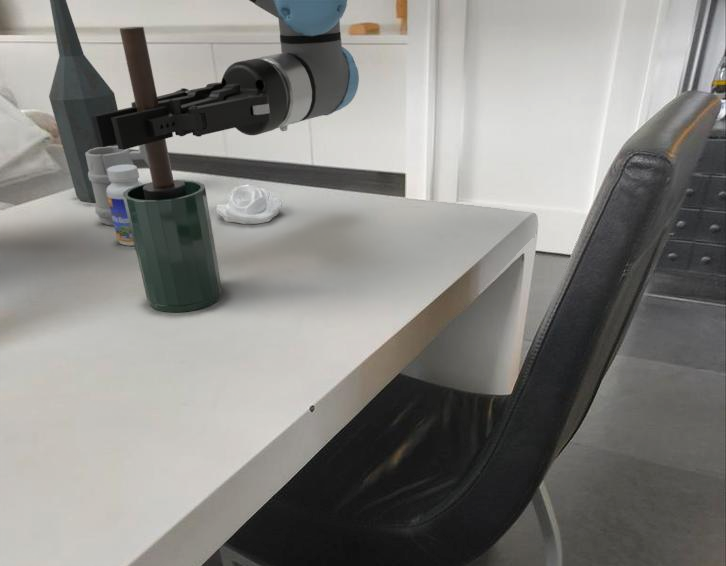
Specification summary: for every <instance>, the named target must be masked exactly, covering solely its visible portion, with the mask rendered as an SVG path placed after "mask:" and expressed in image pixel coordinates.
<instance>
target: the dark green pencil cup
mask: <svg viewBox="0 0 726 566" xmlns="http://www.w3.org/2000/svg"><path fill="white" fill-rule="evenodd" d="M178 180H179V181H183V182H184V183H185V187H186V193H187V196H183V197H179V198H173V199H165V200H145V196H144V191H143V186H144V185H146V184H149V183H152V181H151V182H146V183H143V184H141V185H138V186H134V187H132V188H130V189H127V190H126V191H125V192H124V193H123V199H124V203H125V208H126V212H127V216H128V220H129V225H130V229H131V233H132V237H133V241H134V246H133V247H134V249H135V254H136V259H137V262H138V263H137V264H138V266H139V267H138V268H139V271H140V275H141V279H142V284H143V288H144V291H145V297H146V298H147V303H148V305H149V306H150V307H151V308H152V309H154V310H156V311H161V312H165V313H185V312H193V311H197V310H198V311H199V310H201V309H205V308H207V307H210V306H213V305H214V304H215V303H217V302H218V301H219V300H221V298H222V297H223V287H222V281H221V275H220V268H219V263H218V257H217V250H216V244H215V239H214V233H213V228H212V220H211V214H210V208H209V203H208V197H207V191H206V186H205V184H203V183H202V182H200V181H196V180H190V179H188V180H187V179H178Z"/></svg>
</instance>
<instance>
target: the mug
mask: <svg viewBox="0 0 726 566" xmlns="http://www.w3.org/2000/svg"><path fill="white" fill-rule="evenodd" d="M85 155H86V160H87V164H88V169H89V172H88V177H89V180H90V181H91V182H92V187H93V191H94V196H95V200H96V202H95V205H94V210H95V211H94V212H95V214H96V216H98V218H99V222H100V223H101V224H102V225H107V226H114V222H113V218H112V214H111V210H110V205H109V201H108V197H107V192H106V190H107V187H108V186H109V185H110V184H111V181H110V180H109V178H108V173H107V168H109V167H112V166H116V165H134V161H139V160H141V161H144V162H145V164H146V165H147V166H149V164H148V159H147V155H146V150H145V145H140V146H138V150H131V148H128V149H125V150H122V149H118V146H113V147H112V146H107V147H98V148H94V149H91V150H89V151H88V152H86V153H85Z"/></svg>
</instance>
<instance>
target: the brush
mask: <svg viewBox="0 0 726 566" xmlns="http://www.w3.org/2000/svg"><path fill="white" fill-rule="evenodd" d="M119 33H120V37H121V38H120V39H121V42H122V43H121V44H122V48H123V52H124V56H125V61H126V66H127V71H128V75H129V80H130V84H131V89H132V94H133V98H134V101H135V103H136V108H137V112H139V111H144V110H148V109H153V108H157V107H159V104H158V98H157V97H158V94H157V93H158V92H157V88H156V84H155V78H154V73H153V68H152V64H151V63H152V62H151V58H150V53H149V48H148V42H147V37H146V32H145V28H144V26H127V27H120V28H119ZM166 139H167V138H166ZM166 139H162V140H159V141H155V142H151V143H147V144H144V145H145V150H146V155H147V159H148V164H149V165H148V164H147V165H148V168H149V169H148V170H149V173H150V177H151V182H152V183H150V182H148V183H149V184H146V185H144V186H143V191H144V196H145V200H165V199H173V198H179V197H183V196H187V193H186V187H185V183H184V182H183V181H179V180H180V179H174V177H173V176H174V175H173V171H172V170H173V169H172V166H171V160H170V156H169V150H168V145H167V140H166Z"/></svg>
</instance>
